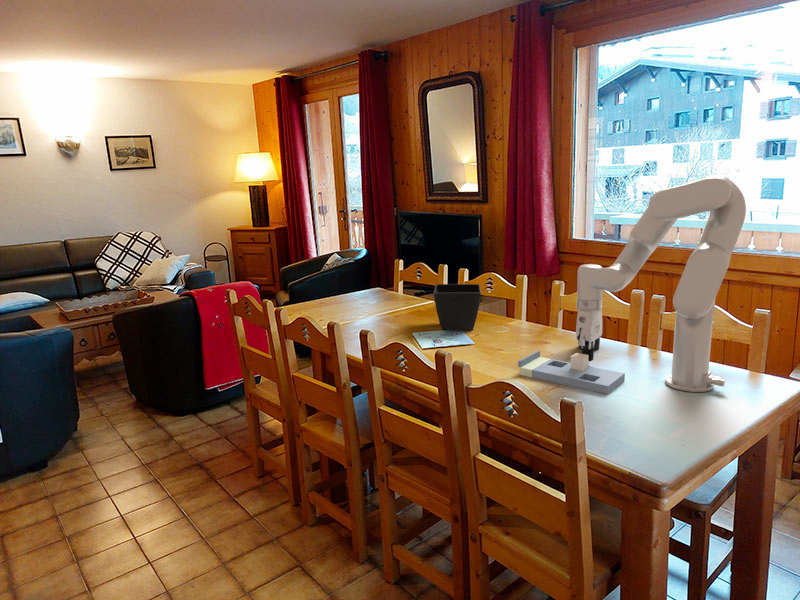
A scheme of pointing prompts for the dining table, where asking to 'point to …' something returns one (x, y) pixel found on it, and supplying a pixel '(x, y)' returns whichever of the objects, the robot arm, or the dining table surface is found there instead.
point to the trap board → (570, 374)
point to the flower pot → (457, 305)
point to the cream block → (579, 361)
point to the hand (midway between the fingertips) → (587, 359)
